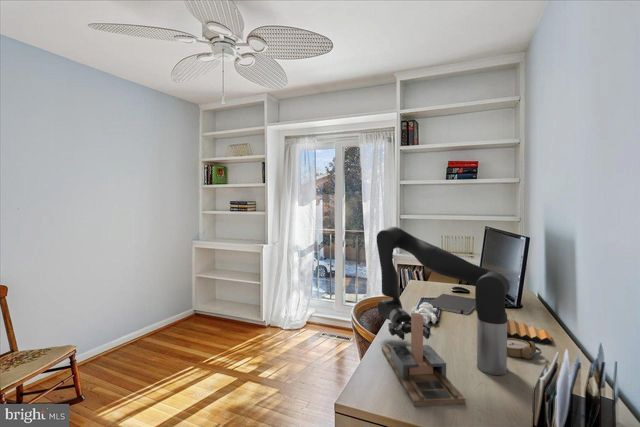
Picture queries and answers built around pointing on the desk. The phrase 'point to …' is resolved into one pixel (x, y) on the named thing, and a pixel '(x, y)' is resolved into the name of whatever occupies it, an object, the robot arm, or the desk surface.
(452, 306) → the notebook
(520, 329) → the orange corrugated panel
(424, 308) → the figure
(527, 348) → the alarm clock
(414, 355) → the pink post on block
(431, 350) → the tunnel
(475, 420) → the desk surface
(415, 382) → the track board
